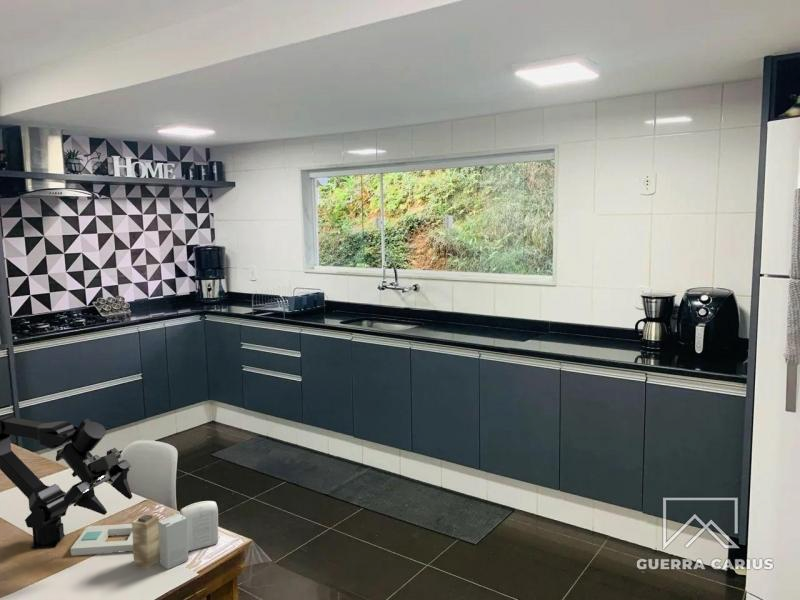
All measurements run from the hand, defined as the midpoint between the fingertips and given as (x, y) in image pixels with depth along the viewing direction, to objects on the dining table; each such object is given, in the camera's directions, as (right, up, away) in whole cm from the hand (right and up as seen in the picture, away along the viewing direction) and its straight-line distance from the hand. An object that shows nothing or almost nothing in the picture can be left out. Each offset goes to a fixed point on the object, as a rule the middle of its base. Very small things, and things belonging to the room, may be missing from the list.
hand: (118, 505), depth 157 cm
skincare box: (+15, -15, -1) cm, 21 cm away
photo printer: (+19, -14, +7) cm, 25 cm away
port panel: (-4, -13, +9) cm, 16 cm away
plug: (+8, -14, -1) cm, 17 cm away
